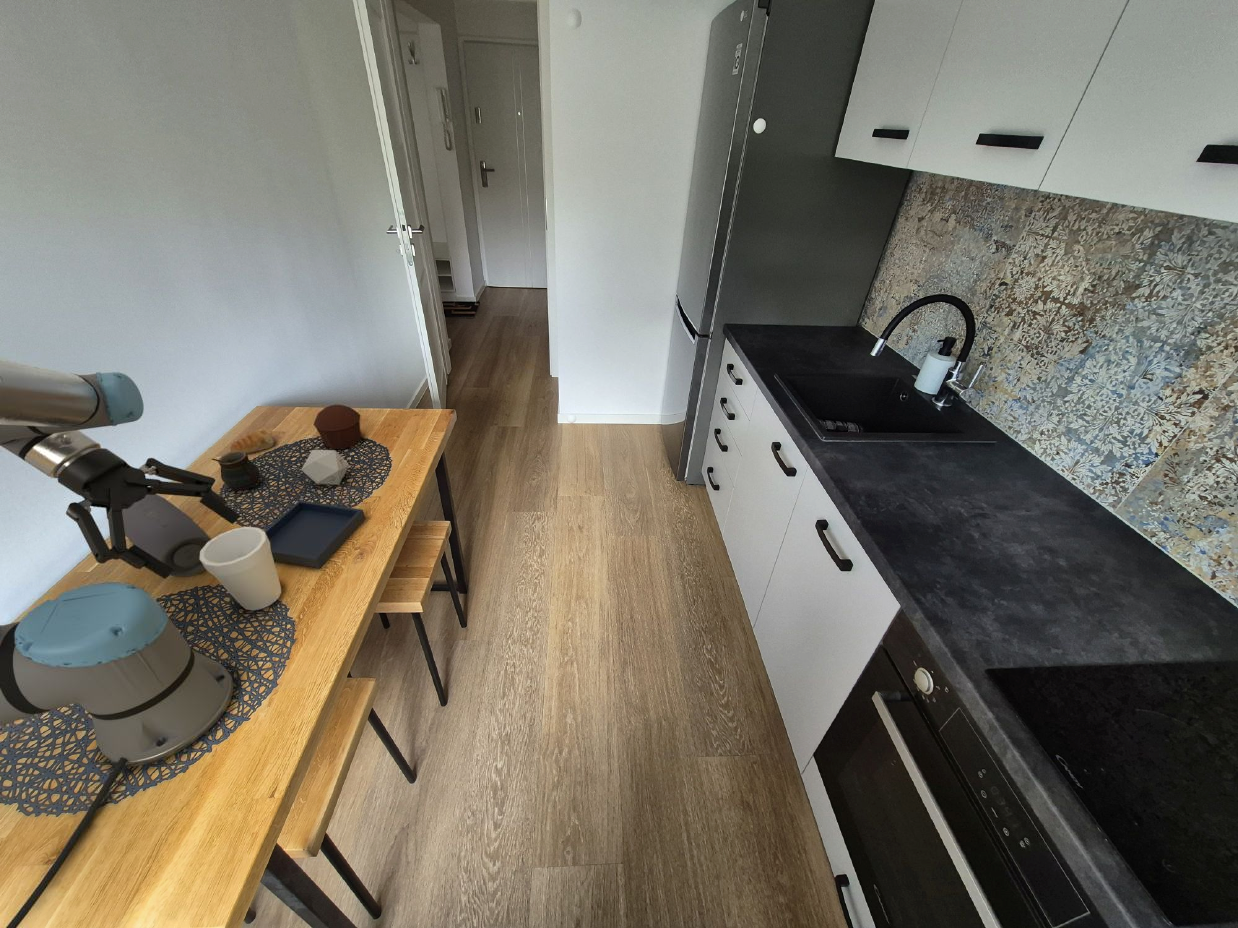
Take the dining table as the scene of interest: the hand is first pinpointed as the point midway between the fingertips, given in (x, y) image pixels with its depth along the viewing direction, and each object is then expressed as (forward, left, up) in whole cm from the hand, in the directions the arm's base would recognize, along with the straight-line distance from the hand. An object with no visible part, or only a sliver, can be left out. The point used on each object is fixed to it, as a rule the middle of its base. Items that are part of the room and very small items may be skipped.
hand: (205, 545), depth 85 cm
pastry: (+43, +32, -12) cm, 55 cm away
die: (+34, +4, -12) cm, 37 cm away
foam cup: (0, -6, -12) cm, 13 cm away
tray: (+16, -4, -12) cm, 20 cm away
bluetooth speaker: (+6, +18, -12) cm, 23 cm away
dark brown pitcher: (+28, +22, -12) cm, 38 cm away
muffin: (+51, +12, -12) cm, 54 cm away
